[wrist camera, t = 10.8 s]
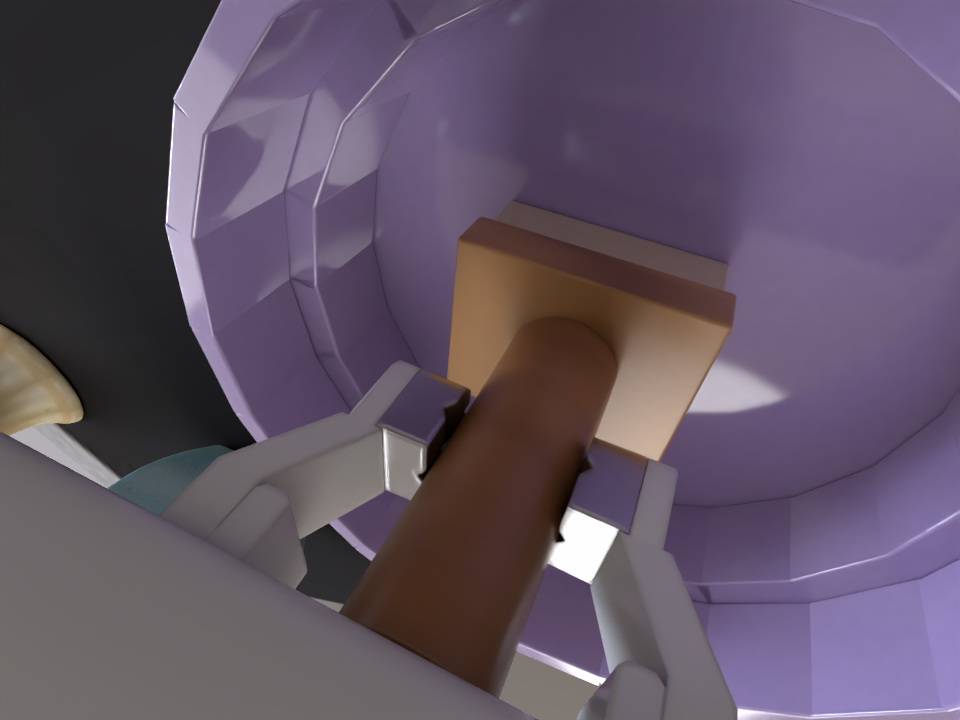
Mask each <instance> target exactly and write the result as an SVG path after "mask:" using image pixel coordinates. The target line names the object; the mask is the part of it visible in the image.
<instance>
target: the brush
mask: <svg viewBox="0 0 960 720" xmlns="http://www.w3.org/2000/svg"><path fill="white" fill-rule="evenodd" d="M728 269H729V266H728V265H727V264H725V263H722V262H719V261H715V260H712V259H709V258H705V257H702V256H698V255H695V254H692V253H688V252H685V251H682V250H678V249H675V248H671V247H668V246H665V245H661V244H658V243H655V242H651V241H648V240H644V239H641V238H638V237H634V236H631V235H628V234H624V233H621V232H617V231H614V230H611V229H607V228H604V227H601V226H597V225H594V224H590V223H587V222H584V221H580V220H577V219H574V218H570V217H567V216H563V215H560V214H557V213H553V212H550V211H547V210H543V209H540V208H536V207H533V206H530V205H526V204H523V203H520V202H516V201H511V202H510V203H509V204H508V205H507V206H506V207H505V208H504V209H503V210H502V211H501V212H500V214H499V215H498V216H497V217H496V218H495V219H494V220H492V219H489V218H486V217H479V218H478V219H477V220H476V221H475V222H474V223H473V224H472V225H471V226H470V227H469V228H468V229H467V230H466V231H465V232H464V233H463V234H462V235H461V236H460V237H459V238H458V242H457V254H456V267H455V279H454V292H453V304H452V317H451V329H450V342H449V354H448V366H447V379H448V380H450V381H452V382H455V383H457V384H459V385H462V386H464V387H467V388H469V389H470V390H471V395H472V396H474V397H476V398H475V400H474V402H473V403H472V405H471V406H470V408H469V409H468V411H467V413H466V414H465V416H464V417H463V419H462V420H461V422H460V424H459V425H458V427H457V428H456V430H455V431H454V433H453V435H452V436H451V438H450V439H449V441H448V442H447V444H446V446H445V447H444V449H443V450H442V452H441V453H440V455H439V456H438V458H437V460H436V461H435V463H434V464H433V466H432V467H431V469H430V471H429V472H428V474H427V475H426V477H425V478H424V480H423V482H422V483H421V485H420V486H419V488H418V489H417V491H416V493H415V494H414V496H413V497H412V499H411V500H410V502H409V504H408V505H407V507H406V508H405V510H404V511H403V513H402V514H401V516H400V518H399V519H398V521H397V522H396V524H395V525H394V527H393V529H392V530H391V532H390V533H389V535H388V536H387V538H386V540H385V541H384V543H383V544H382V546H381V547H380V549H379V551H378V552H377V554H376V555H375V557H374V558H373V560H372V561H371V563H370V565H369V566H368V568H367V569H366V571H365V572H364V574H363V576H362V577H361V579H360V580H359V582H358V583H357V585H356V587H355V588H354V590H353V591H352V593H351V594H350V596H349V598H348V599H347V601H346V602H345V604H344V605H343V607H342V609H341V610H340V612H339V613H340V614H342V615H344V616H346V617H347V618H349V619H351V620H353V621H355V622H357V623H359V624H360V625H362V626H364V627H366V628H368V629H370V630H372V631H373V632H375V633H377V634H379V635H381V636H383V637H385V638H387V639H388V640H390V641H392V642H394V643H396V644H398V645H400V646H401V647H403V648H405V649H407V650H409V651H411V652H413V653H414V654H416V655H418V656H420V657H422V658H424V659H426V660H428V661H429V662H431V663H433V664H435V665H437V666H439V667H441V668H442V669H444V670H446V671H448V672H450V673H452V674H454V675H455V676H457V677H459V678H461V679H463V680H465V681H467V682H469V683H470V684H472V685H474V686H476V687H478V688H480V689H482V690H483V691H485V692H487V693H489V694H491V695H493V696H495V697H496V698H498V699H499V696H500V694H501V691H502V688H503V685H504V683H505V680H506V677H507V674H508V672H509V669H510V666H511V664H512V661H513V658H514V655H515V653H516V650H517V647H518V645H519V642H520V639H521V637H522V634H523V631H524V628H525V626H526V623H527V620H528V618H529V615H530V612H531V610H532V607H533V604H534V601H535V599H536V596H537V593H538V591H539V588H540V585H541V582H542V580H543V577H544V574H545V572H546V569H547V566H548V563H549V561H550V558H551V555H552V553H553V550H554V547H555V544H556V542H557V539H558V536H559V533H560V531H559V527H560V524H561V521H562V518H563V516H564V513H565V510H566V507H567V505H568V502H569V499H570V496H571V494H572V491H573V489H574V486H575V484H576V481H577V479H578V475H579V472H580V470H581V467H582V464H583V462H584V459H585V457H586V454H587V451H588V449H589V446H590V444H591V441H592V439H593V437H596V438H598V439H601V440H604V441H606V442H609V443H612V444H614V445H617V446H620V447H622V448H625V449H627V450H630V451H633V452H635V453H638V454H641V455H643V456H646V457H647V459H648V458H650V459H653V460H655V461H658V462H660V461H661V459H662V457H663V455H664V453H665V451H666V450H667V448H668V446H669V444H670V442H671V440H672V439H673V437H674V435H675V433H676V431H677V429H678V427H679V426H680V424H681V422H682V420H683V418H684V416H685V415H686V413H687V411H688V409H689V407H690V405H691V404H692V402H693V400H694V398H695V396H696V394H697V393H698V391H699V389H700V387H701V385H702V383H703V382H704V380H705V378H706V376H707V374H708V372H709V371H710V369H711V367H712V365H713V363H714V361H715V360H716V358H717V356H718V354H719V352H720V350H721V349H722V347H723V345H724V343H725V341H726V339H727V337H728V336H729V334H730V332H731V330H732V328H733V321H734V314H735V307H736V300H737V297H736V295H734V294H732V293H729V292H726V291H725V286H726V280H727V274H728Z"/></svg>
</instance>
